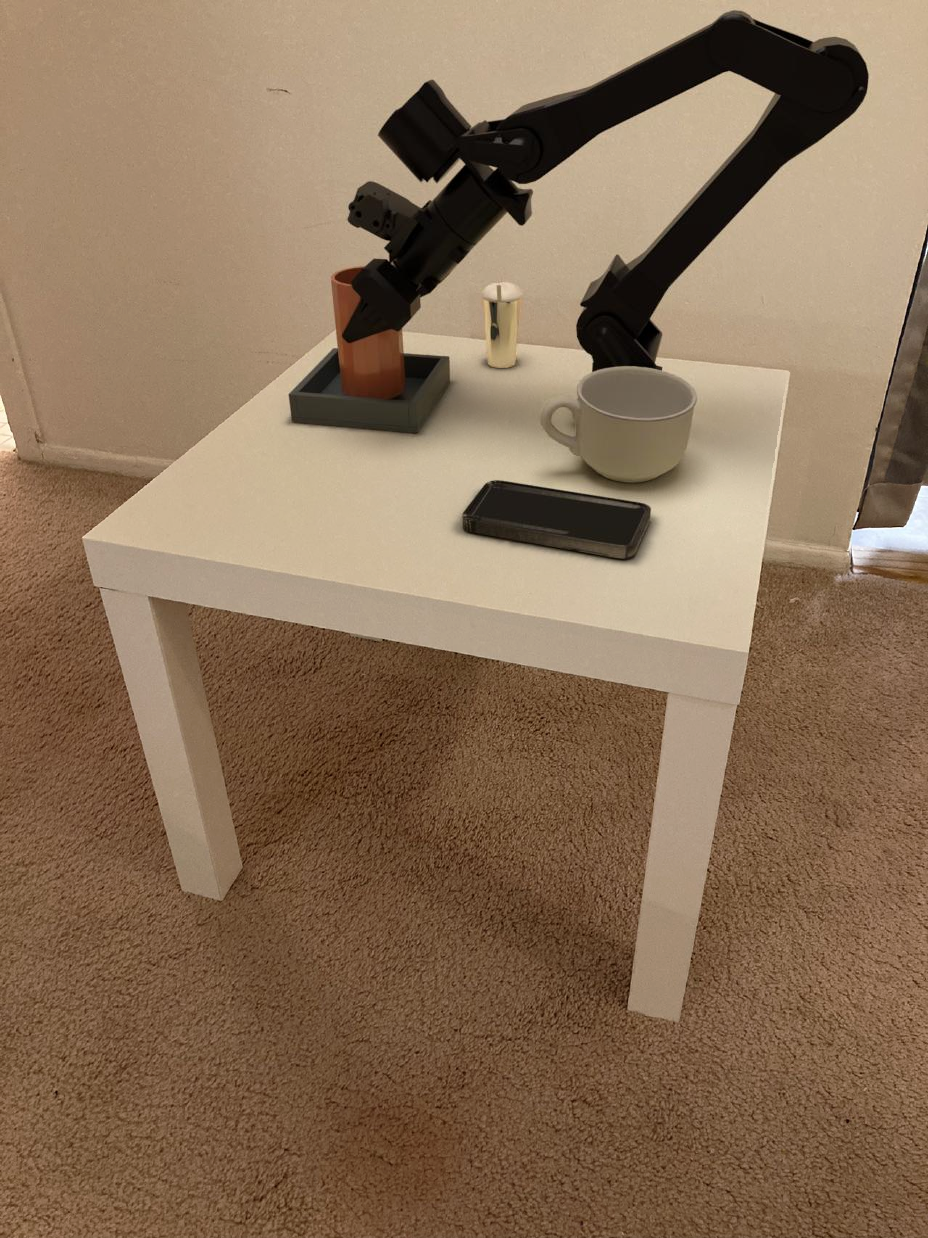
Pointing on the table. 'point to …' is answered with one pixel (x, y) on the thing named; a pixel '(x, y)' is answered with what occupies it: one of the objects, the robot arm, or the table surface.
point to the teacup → (627, 421)
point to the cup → (365, 348)
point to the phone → (558, 518)
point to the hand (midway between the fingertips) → (356, 327)
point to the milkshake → (501, 322)
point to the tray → (403, 413)
